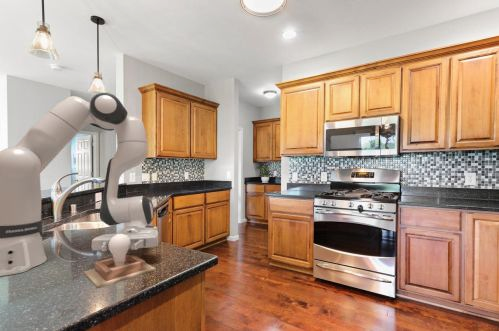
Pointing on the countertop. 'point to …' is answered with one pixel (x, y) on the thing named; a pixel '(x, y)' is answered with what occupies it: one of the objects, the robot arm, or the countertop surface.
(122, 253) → the lightbulb
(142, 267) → the socket block
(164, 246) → the countertop surface
